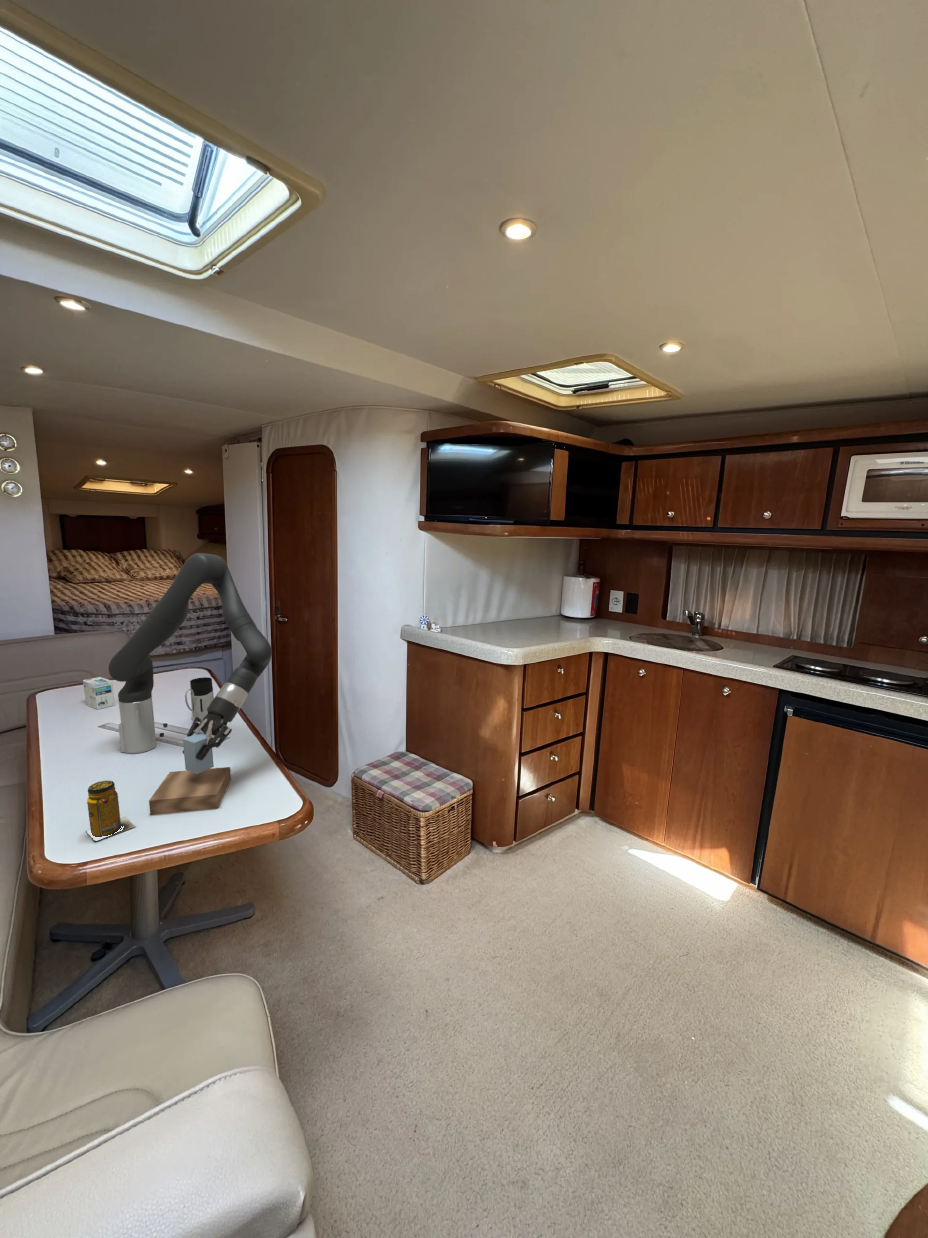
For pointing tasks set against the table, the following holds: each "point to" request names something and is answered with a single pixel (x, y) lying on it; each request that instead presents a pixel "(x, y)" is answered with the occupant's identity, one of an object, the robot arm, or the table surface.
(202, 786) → the walnut plinth
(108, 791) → the condiment
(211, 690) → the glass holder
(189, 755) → the slate block
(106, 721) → the table surface
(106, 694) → the light bulb box
